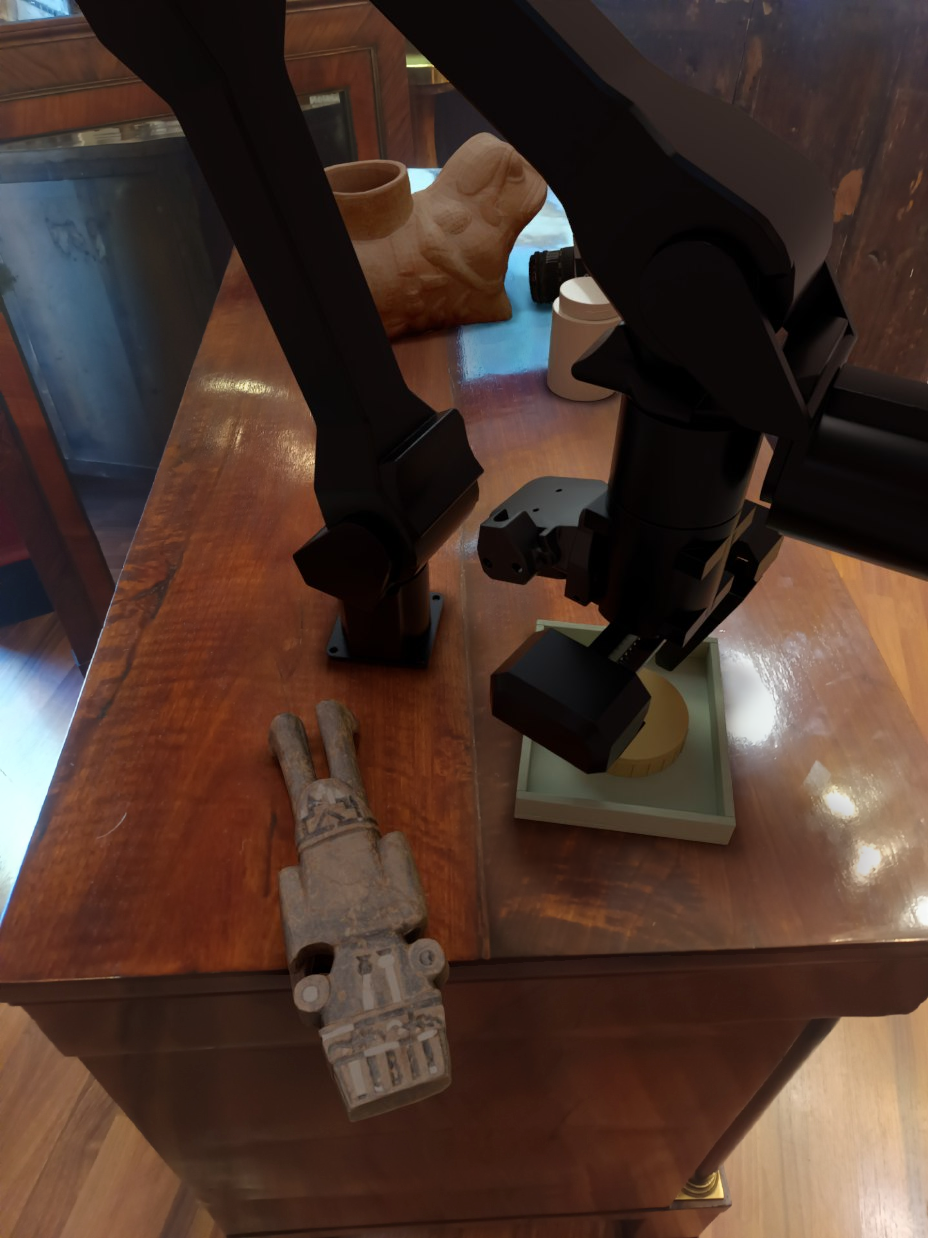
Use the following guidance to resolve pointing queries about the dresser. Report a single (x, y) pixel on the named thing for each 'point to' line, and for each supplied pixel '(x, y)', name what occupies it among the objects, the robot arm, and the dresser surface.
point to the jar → (577, 336)
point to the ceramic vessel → (439, 234)
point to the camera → (553, 272)
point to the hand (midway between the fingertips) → (624, 714)
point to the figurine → (358, 929)
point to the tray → (655, 805)
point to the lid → (656, 731)
